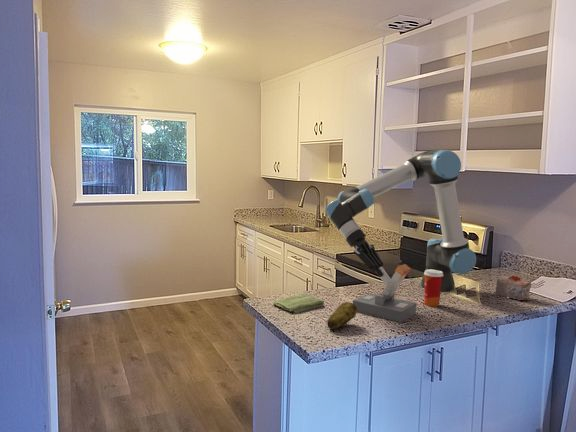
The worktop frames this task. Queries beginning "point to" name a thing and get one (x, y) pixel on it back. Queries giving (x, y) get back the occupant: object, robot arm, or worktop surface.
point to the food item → (513, 287)
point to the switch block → (385, 307)
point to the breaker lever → (395, 281)
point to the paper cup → (432, 287)
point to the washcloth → (299, 303)
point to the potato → (342, 315)
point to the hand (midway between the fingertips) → (388, 282)
